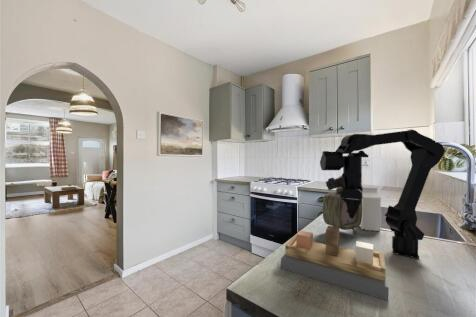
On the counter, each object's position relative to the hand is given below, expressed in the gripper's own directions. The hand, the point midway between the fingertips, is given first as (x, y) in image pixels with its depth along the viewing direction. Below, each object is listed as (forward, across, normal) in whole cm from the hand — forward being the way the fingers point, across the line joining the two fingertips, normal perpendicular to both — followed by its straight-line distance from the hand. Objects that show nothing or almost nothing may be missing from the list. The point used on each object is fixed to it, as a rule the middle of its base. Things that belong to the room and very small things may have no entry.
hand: (352, 214), depth 75 cm
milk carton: (+13, -31, +5) cm, 35 cm away
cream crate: (+8, +17, +4) cm, 19 cm away
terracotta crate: (+7, +17, -12) cm, 22 cm away
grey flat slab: (+13, +17, -4) cm, 22 cm away
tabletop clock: (+13, -17, -5) cm, 22 cm away
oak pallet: (+10, +17, -4) cm, 20 cm away
